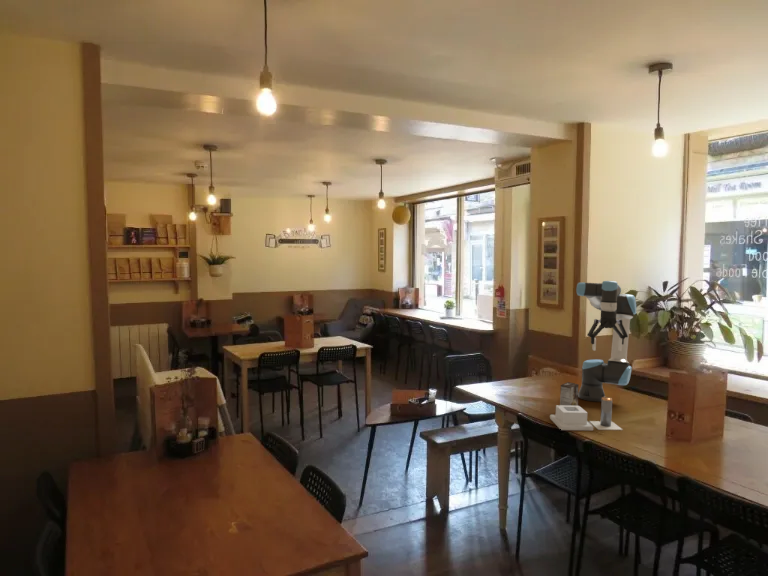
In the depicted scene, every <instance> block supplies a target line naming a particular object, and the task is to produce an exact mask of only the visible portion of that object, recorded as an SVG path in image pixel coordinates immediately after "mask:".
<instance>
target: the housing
mask: <svg viewBox="0 0 768 576" xmlns="http://www.w3.org/2000/svg"><path fill="white" fill-rule="evenodd" d="M549 419H550V421H552V423H553V424H555V426H557V428H558V429H559V430H560V429H561V430H560V431H594V426H593V425H592V424H591V423H590V422H589V421H588V412H587V411H586V410H585V409H584V408H583V407H581V406H580V405H578V406H573V405H560V404H559V405H555V414H550V415H549Z"/></svg>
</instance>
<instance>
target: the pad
mask: <svg viewBox="0 0 768 576" xmlns="http://www.w3.org/2000/svg"><path fill="white" fill-rule="evenodd" d="M588 422H589V423H590V424H591V425H592V426H593V427H594V428H596V429H597V430H599V431H623V428H622V427H620V426H619V425H618V424H616V423H615V422H614V421H612V420H611V426H610V427H605V426H602V425H600V422H601V420H600V421H599V420H597V421H596V420H589V421H588Z"/></svg>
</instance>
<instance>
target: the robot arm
mask: <svg viewBox="0 0 768 576" xmlns="http://www.w3.org/2000/svg"><path fill="white" fill-rule="evenodd" d="M575 291H576V294H577V297H578V296H580V297H585V298H586V299H587V300H588V301H589V304H590V305H591V306H592V307H593V308H594V309H597V310H598V311H600V319H597V318H595V319H593V321H594V322H593V324H592V326H591V327H590V329H589V331H588V333H587V336H588V337H589V338H590V344H591V347H592V348H591V349H592V351H594V352H595V351H597V349H596V348H597V338H596V337H598V335H599V334H600V332H601V331H602V330H603V329H613V330H612V341H611V342H612V343H611V352H610V353H611V354H610V358H609V359H608V360H607V363H605V362H604V360H603V359H599V358H598V359H595V358H594V359H587V360H584V361H583V362H582V368H581V369H582V370H581V371H582V372H581V386H580V388H579V389H578V399H581V400H584V401H587V402H602V397H606V393H605V391H604V388H603V384H610V385H618V386H627V385H628V384H629V382H630V379H631V375H632V368H633V367H632V366H631V365H630V362H629V361H628V358H627V357H628V349H629V348H628V347H629V335H630V325H631V323H630V322H631V320H632V319H633V318H634V316H635V315H636V314H637V301H636V297H635V295H633V294H628V293H622V288H621V286H620V285H619V284H618V282H617V280H603V281H602V282H601V283H600V282H585V281H583V282H577V284H576V289H575ZM599 324H600V325H599ZM598 325H599V326H598ZM597 326H598V327H597Z"/></svg>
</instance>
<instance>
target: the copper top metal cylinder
mask: <svg viewBox="0 0 768 576" xmlns="http://www.w3.org/2000/svg"><path fill="white" fill-rule="evenodd" d="M612 414H613V398H612V397H610V396H605V397H602V401H601V405H600V421H601V422H600V425H602V426H605V427H610V426H611V421H612V416H613V415H612Z"/></svg>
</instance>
